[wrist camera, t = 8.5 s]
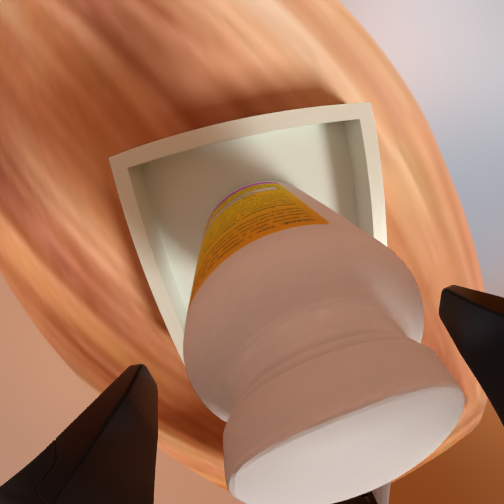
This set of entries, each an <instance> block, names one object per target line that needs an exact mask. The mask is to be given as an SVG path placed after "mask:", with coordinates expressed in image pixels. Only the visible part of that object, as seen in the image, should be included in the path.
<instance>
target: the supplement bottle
mask: <svg viewBox="0 0 504 504" xmlns="http://www.w3.org/2000/svg"><path fill="white" fill-rule="evenodd" d="M423 329H424V308H423V302H422V298H421V293H420V290H419V287H418V285H417V283H416V280H415V278H414V276H413V275H412V273H411V271H410V270H409V268H408V267H407V266H406V265H405V263H404V262H403V261H402V260H401V259H400V258H399V257H398V256H397V255H396V254H395V253H394V252H393V251H392V250H391V249H389V248H388V247H387V246H385V245H384V244H383V243H381V242H380V241H378V240H377V239H375V238H374V237H372V236H371V235H369V234H368V233H366V232H365V231H363V230H362V229H360V228H359V227H357V226H356V225H354V224H353V223H351V222H350V221H348V220H347V219H345V218H344V217H342V216H341V215H339V214H338V213H336V212H335V211H333V210H332V209H330V208H328V207H327V206H325V205H324V204H322V203H321V202H319V201H317V200H316V199H314V198H313V197H311V196H309V195H308V194H306V193H305V192H303V191H301V190H300V189H298V188H296V187H294V186H291V185H289V184H286V183H282V182H276V181H260V182H254V183H250V184H247V185H244V186H242V187H240V188H238V189H236V190H234V191H232V192H231V193H230V194H228V195H227V196H226V197H224V198H223V199H222V200H221V201H220V202H219V204H218V205H217V206H216V207H215V209H214V210H213V212H212V213H211V215H210V217H209V219H208V221H207V224H206V227H205V230H204V234H203V238H202V242H201V246H200V252H199V256H198V261H197V266H196V271H195V275H194V281H193V286H192V291H191V296H190V301H189V306H188V311H187V317H186V323H185V330H184V339H183V357H184V363H185V368H186V372H187V375H188V378H189V380H190V383H191V385H192V387H193V389H194V391H195V392H196V394H197V395H198V397H199V398H200V399H201V401H202V402H203V403H204V404H205V405H206V407H207V408H208V409H209V410H210V411H211V412H213V413H214V414H215V415H216V416H218V417H219V418H220V419H222V420H223V421H225V422H227V423H226V426H225V429H224V433H223V450H224V467H225V479H226V483H227V487H228V489H229V491H230V492H231V494H232V495H233V496H234V497H235V498H237V499H238V500H240V501H242V502H244V503H247V504H332V503H336V502H340V501H344V500H347V499H350V498H353V497H356V496H359V495H362V494H364V493H367V492H370V491H372V490H374V489H376V488H378V487H380V486H382V485H385V484H387V483H388V482H390V481H392V480H394V479H396V478H397V477H399V476H401V475H402V474H404V473H406V472H407V471H409V470H410V469H412V468H413V467H415V466H416V465H417V464H419V463H420V462H421V461H423V460H424V459H425V458H426V457H428V456H429V455H430V454H431V453H432V452H434V451H435V450H436V449H437V448H438V447H439V446H440V445H441V443H442V442H443V441H444V440H445V439H446V438H447V437H448V435H449V434H450V433H451V431H452V430H453V429H454V427H455V426H456V424H457V423H458V421H459V419H460V417H461V414H462V412H463V408H464V401H465V399H464V394H463V391H462V389H461V388H460V386H459V384H458V383H457V381H456V380H455V379H454V377H453V376H452V375H451V373H450V372H449V371H448V369H447V368H446V367H445V365H444V364H443V363H442V361H441V360H440V358H439V357H438V356H437V354H436V353H435V352H434V351H433V350H432V349H431V348H429V347H427V346H426V345H423V344H421V340H422V335H423Z"/></svg>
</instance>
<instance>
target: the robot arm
mask: <svg viewBox="0 0 504 504" xmlns="http://www.w3.org/2000/svg"><path fill="white" fill-rule="evenodd" d="M439 316H440V318H441V320H442V322H443V324H444V325H445V327H446V329H447V331H448V332H449V334H450V336H451V338H452V340H453V341H454V343H455V345H456V347H457V349H458V350H459V352H460V354H461V355H462V357H463V359H464V360H465V362H466V363H467V365H468V366H469V368H470V369H471V371H472V372H473V374H474V376H475V377H476V379H477V380H478V382H479V384H480V385H481V387H482V389H483V390H484V392H485V394H486V395H487V397H488V399H489V400H490V402H491V404H492V406H493V407H494V409H495V411H496V413H497V414H498V416H499V418H500V420H501V422H502V424H503V426H504V298H503V297H499V296H495V295H492V294H488V293H484V292H480V291H476V290H472V289H468V288H464V287H460V286H456V285H451V286H449V287H446V288H444V289H443V291H442V293H441V300H440V306H439ZM157 440H158V390H157V385H156V383H155V381H154V379H153V378H152V376H151V374H150V373H149V371H148V369H147V367H146V366H145V365H143V364H137V365H131V366H129V367H128V368H127V369H126V370H125V371H124V372H123V373H122V374H121V375H120V376H119V377H118V378H117V379H116V380H115V381H114V382H113V383H112V384H111V385H110V386H109V387H108V388H107V389H106V390H105V391H104V392H103V393H102V394H101V395H100V396H99V397H98V398H97V399H96V400H95V401H94V402H93V403H92V404H91V405H89V407H87V408H86V409H85V410H84V411H83V412H82V413H81V414H80V415H79V416H78V417H77V418H76V419H75V420H74V421H73V422H72V423H71V424H70V425H69V426H68V427H67V428H66V429H65V430H64V431H63V432H62V433H61V434H60V435H59V436H58V437H57V438H56V440H54V441H53V442H52V443H51V444H50V445H49V446H48V447H47V448H46V449H45V450H44V451H43V452H42V453H40V454H39V455H38V456H37V457H36V458H35V459H34V460H33V461H31V462H30V463H29V464H28V465H27V466H26V467H24V468H23V469H22V470H21V471H19V472H18V473H17V474H16V475H15V476H13V477H12V478H11V479H9V480H8V481H7V482H6V483H4V484H3V485H2V486H0V504H153V503H154V481H155V465H156V452H157ZM332 504H378V503H377V501H376V499H375V497H374V495H373V493H372V491H370V492H367V493H364V494H362V495H359V496H356V497H353V498H350V499H347V500H344V501H340V502H336V503H332Z"/></svg>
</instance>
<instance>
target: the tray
mask: <svg viewBox="0 0 504 504" xmlns="http://www.w3.org/2000/svg"><path fill="white" fill-rule="evenodd" d="M108 158H109V162H110V166H111V170H112V174H113V177H114V181H115V185H116V188H117V192H118V195H119V199H120V202H121V205H122V209H123V212H124V215H125V218H126V221H127V225H128V228H129V231H130V234H131V237H132V240H133V243H134V245H135V248H136V251H137V254H138V257H139V260H140V262H141V265H142V268H143V270H144V273H145V276H146V278H147V281H148V283H149V286H150V289H151V291H152V294H153V296H154V298H155V301H156V303H157V306H158V308H159V310H160V313H161V315H162V317H163V320H164V322H165V324H166V327H167V329H168V331H169V333H170V336H171V338H172V340H173V342H174V344H175V346H176V349H177V351H178V353H179V355H180V357H181V359H182V361H183V363H184V357H183V339H184V330H185V323H186V317H187V311H188V306H189V301H190V296H191V291H192V286H193V281H194V275H195V271H196V266H197V261H198V256H199V252H200V246H201V242H202V238H203V234H204V230H205V227H206V224H207V221H208V219H209V217H210V215H211V213H212V212H213V210H214V209H215V207H216V206H217V205H218V204H219V202H220V201H221V200H222V199H223V198H224V197H226V196H227V195H228V194H230V193H231V192H232V191H234V190H236V189H238V188H240V187H242V186H244V185H247V184H250V183H254V182H260V181H276V182H282V183H286V184H289V185H291V186H294V187H296V188H298V189H300V190H301V191H303V192H305V193H306V194H308V195H309V196H311V197H313V198H314V199H316V200H317V201H319V202H321V203H322V204H324V205H325V206H327V207H328V208H330V209H332V210H333V211H335V212H336V213H338V214H339V215H341V216H342V217H344V218H345V219H347V220H348V221H350V222H351V223H353V224H354V225H356V226H357V227H359V228H360V229H362V230H363V231H365V232H366V233H368V234H369V235H371V236H372V237H374V238H375V239H377V240H378V241H380V242H381V243H383V244H384V245H385V246H387V233H386V214H385V200H384V188H383V178H382V170H381V161H380V154H379V147H378V140H377V134H376V128H375V122H374V117H373V111H372V106H371V102H367V103H350V104H338V105H327V106H318V107H309V108H301V109H294V110H287V111H280V112H274V113H268V114H263V115H257V116H252V117H247V118H242V119H237V120H232V121H228V122H223V123H219V124H215V125H211V126H207V127H203V128H199V129H195V130H191V131H187V132H184V133H180V134H177V135H173V136H170V137H167V138H163V139H160V140H157V141H154V142H150V143H147V144H144V145H141V146H138V147H135V148H133V149H130V150H127V151H124V152H121V153H119V154H116V155H113V156H111V157H108ZM184 365H185V363H184Z"/></svg>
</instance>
